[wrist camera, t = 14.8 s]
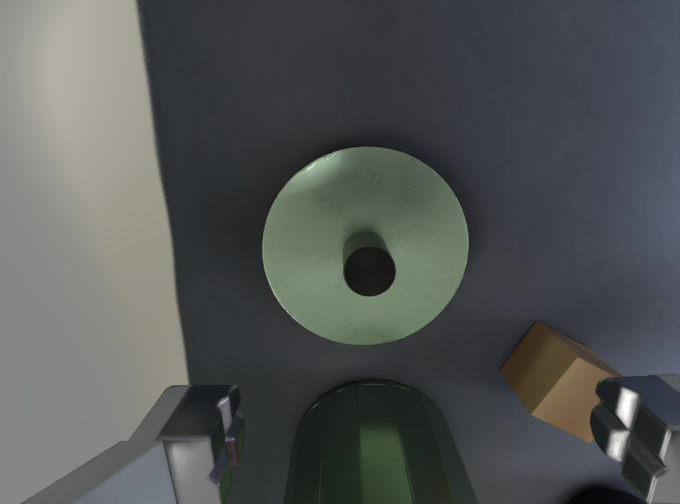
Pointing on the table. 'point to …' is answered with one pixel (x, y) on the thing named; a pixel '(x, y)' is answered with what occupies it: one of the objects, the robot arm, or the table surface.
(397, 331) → the lid
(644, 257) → the table surface
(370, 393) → the tin
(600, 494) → the cola bottle
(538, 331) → the block
